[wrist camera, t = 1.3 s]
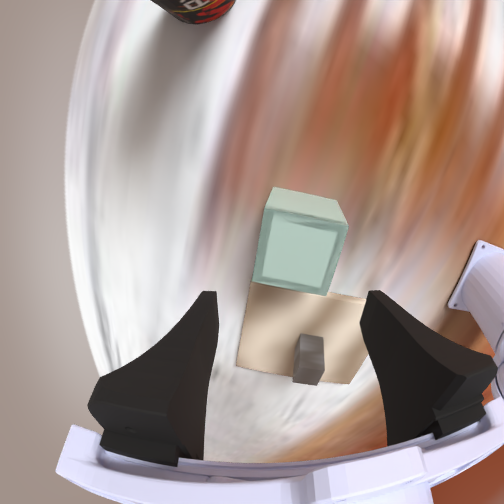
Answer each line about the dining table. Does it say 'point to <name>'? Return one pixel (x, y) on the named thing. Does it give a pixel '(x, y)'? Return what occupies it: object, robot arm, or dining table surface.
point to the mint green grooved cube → (299, 241)
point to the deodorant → (196, 9)
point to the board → (301, 317)
